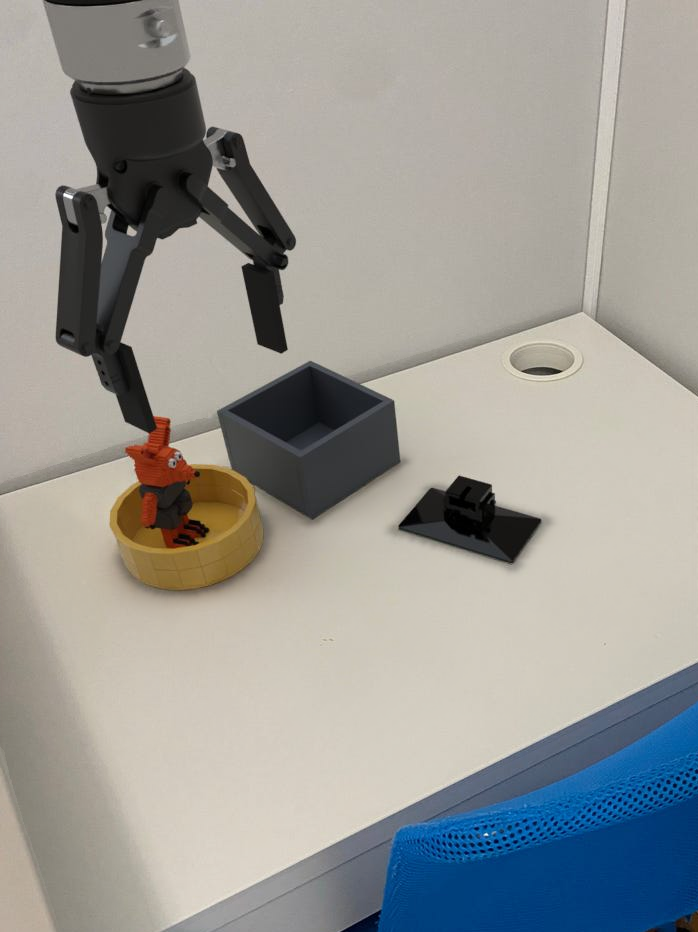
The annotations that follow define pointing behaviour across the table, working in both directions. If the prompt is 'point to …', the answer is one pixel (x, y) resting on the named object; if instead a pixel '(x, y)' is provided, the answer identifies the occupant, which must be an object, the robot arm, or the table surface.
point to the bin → (311, 437)
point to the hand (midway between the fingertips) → (210, 384)
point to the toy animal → (166, 488)
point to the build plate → (471, 521)
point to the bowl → (215, 557)
